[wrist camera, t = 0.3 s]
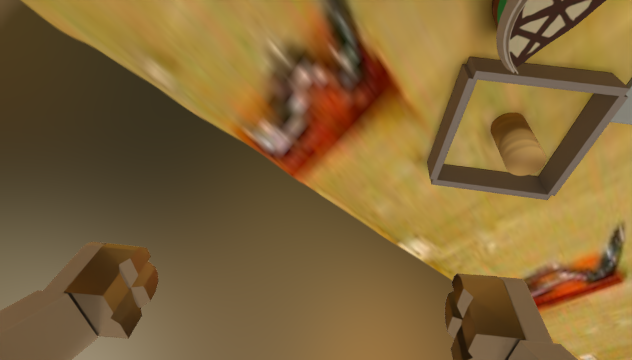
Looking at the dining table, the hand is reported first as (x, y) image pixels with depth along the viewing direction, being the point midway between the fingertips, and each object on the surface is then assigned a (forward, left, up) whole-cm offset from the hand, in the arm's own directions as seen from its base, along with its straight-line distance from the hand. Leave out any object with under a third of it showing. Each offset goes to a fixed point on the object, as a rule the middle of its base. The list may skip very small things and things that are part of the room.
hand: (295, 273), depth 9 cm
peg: (+18, +24, -39) cm, 49 cm away
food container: (0, +18, -39) cm, 43 cm away
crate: (+18, +24, -39) cm, 49 cm away
